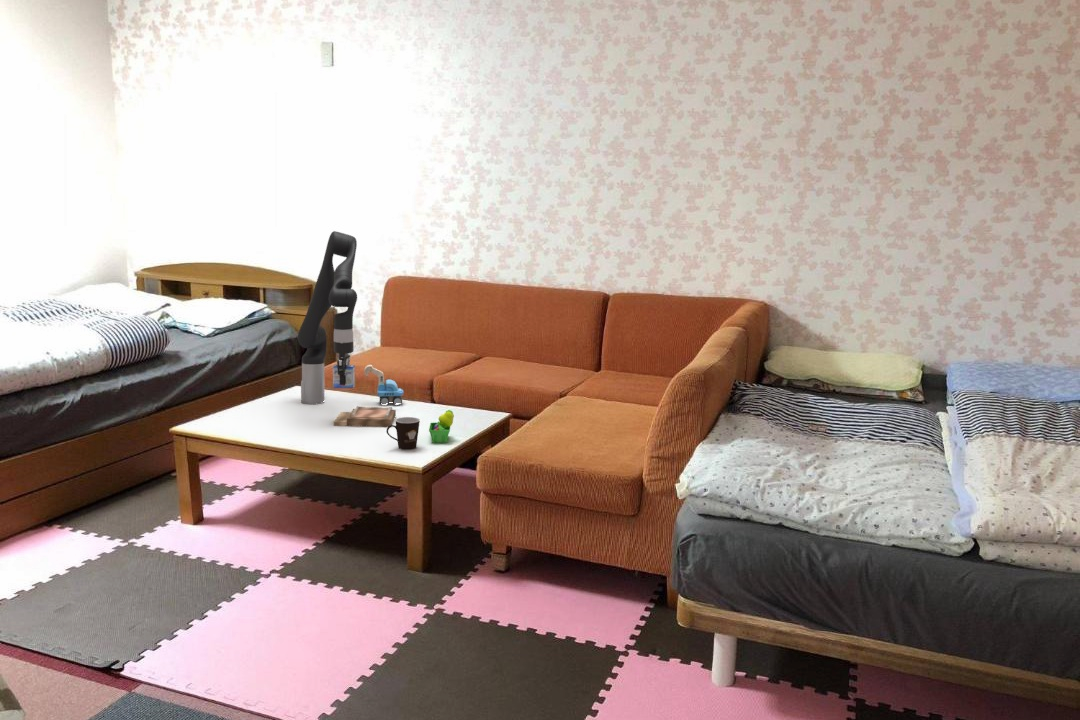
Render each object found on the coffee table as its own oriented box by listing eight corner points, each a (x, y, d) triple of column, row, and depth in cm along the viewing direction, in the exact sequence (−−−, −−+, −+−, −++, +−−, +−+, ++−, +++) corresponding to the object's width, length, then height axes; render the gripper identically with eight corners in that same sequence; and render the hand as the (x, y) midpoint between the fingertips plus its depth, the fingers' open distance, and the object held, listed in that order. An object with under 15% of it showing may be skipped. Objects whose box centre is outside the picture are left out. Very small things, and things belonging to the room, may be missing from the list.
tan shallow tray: (333, 425, 326) (333, 415, 326) (340, 415, 342) (340, 405, 341) (390, 427, 328) (391, 416, 327) (395, 416, 343) (395, 406, 343)
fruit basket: (430, 435, 319) (430, 406, 316) (453, 435, 319) (454, 406, 317) (428, 443, 307) (429, 413, 305) (453, 444, 308) (453, 414, 306)
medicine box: (332, 388, 328) (332, 366, 326) (334, 385, 332) (334, 364, 331) (353, 388, 329) (353, 366, 327) (355, 386, 333) (354, 364, 331)
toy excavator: (364, 401, 367) (364, 363, 364) (403, 401, 370) (403, 363, 367) (363, 406, 359) (364, 366, 356) (403, 406, 362) (404, 366, 359)
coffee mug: (419, 443, 307) (419, 417, 305) (419, 450, 298) (420, 423, 297) (386, 443, 305) (386, 417, 303) (386, 450, 297) (386, 423, 295)
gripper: (337, 337, 334) (338, 379, 337) (329, 342, 320) (330, 386, 323) (356, 337, 334) (356, 379, 337) (349, 343, 320) (350, 387, 323)
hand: (343, 383), depth 330 cm, fingers closed on medicine box, 4 cm apart
